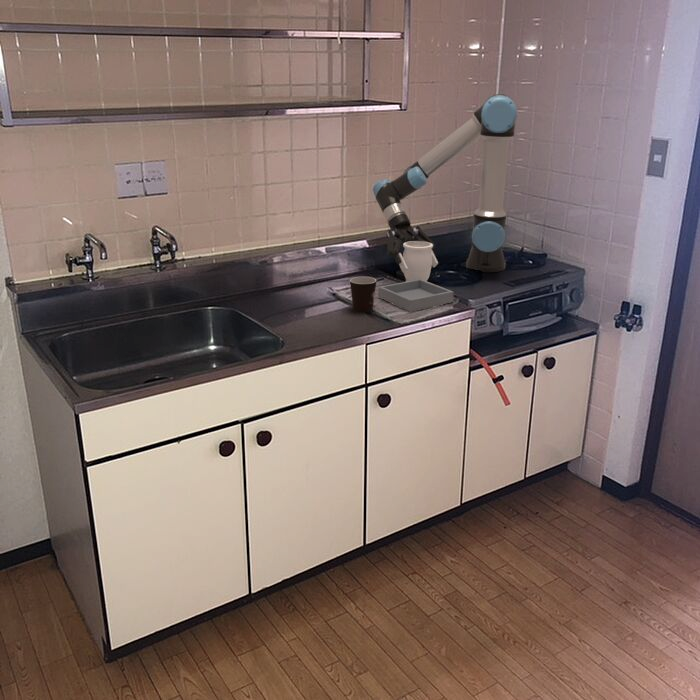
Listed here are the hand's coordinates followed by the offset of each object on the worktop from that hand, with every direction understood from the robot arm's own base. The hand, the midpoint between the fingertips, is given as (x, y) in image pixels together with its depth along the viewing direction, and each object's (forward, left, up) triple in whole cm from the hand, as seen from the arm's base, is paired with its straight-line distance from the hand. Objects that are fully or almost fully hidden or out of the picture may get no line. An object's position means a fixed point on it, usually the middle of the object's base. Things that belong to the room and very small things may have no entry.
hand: (420, 267), depth 274 cm
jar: (0, -2, -7) cm, 7 cm away
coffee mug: (+31, +11, -7) cm, 33 cm away
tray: (+12, +13, -7) cm, 19 cm away
